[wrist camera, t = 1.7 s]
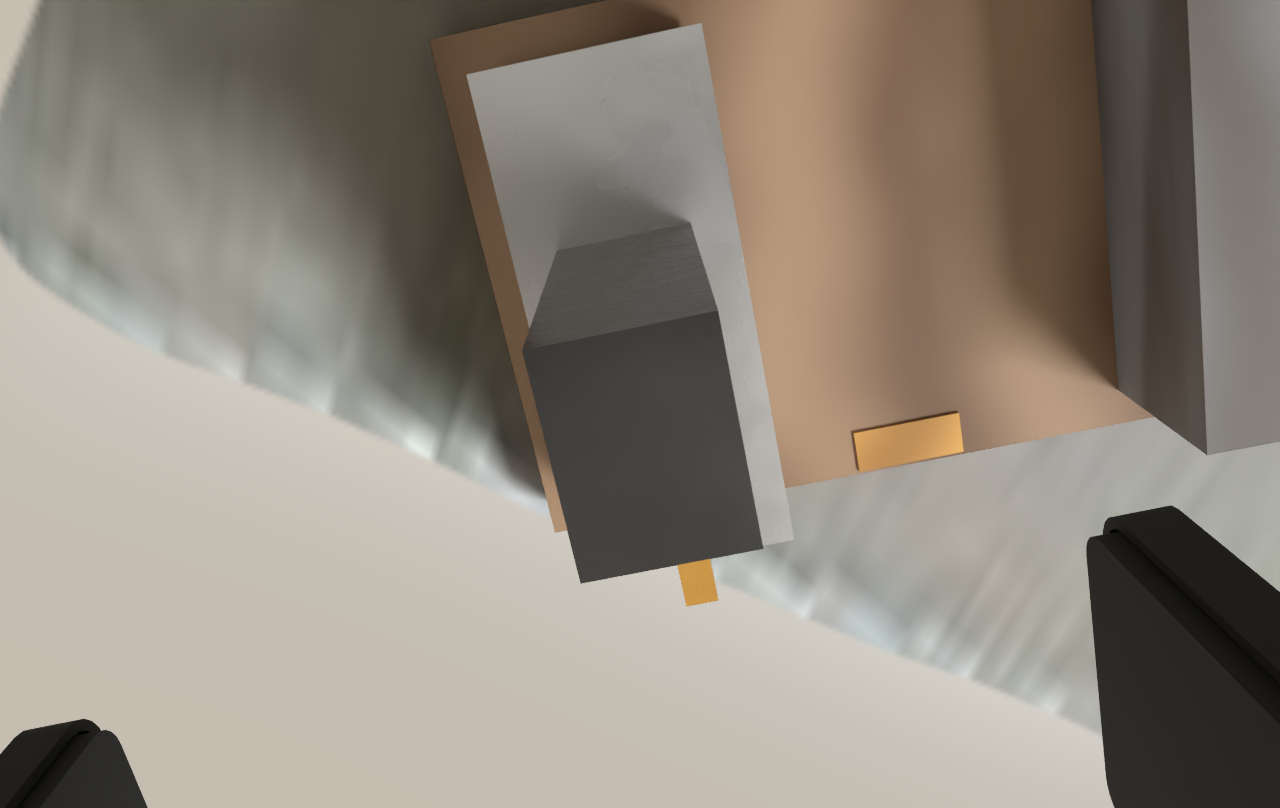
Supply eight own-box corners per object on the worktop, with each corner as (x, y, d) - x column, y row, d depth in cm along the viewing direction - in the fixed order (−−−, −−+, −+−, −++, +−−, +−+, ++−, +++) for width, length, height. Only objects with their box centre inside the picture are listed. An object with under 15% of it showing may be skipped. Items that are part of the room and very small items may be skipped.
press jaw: (689, 25, 27) (737, 16, 15) (777, 506, 31) (871, 810, 19) (494, 67, 28) (383, 93, 15) (608, 539, 32) (592, 859, 19)
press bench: (1345, -162, 28) (1566, -223, 21) (1345, 351, 32) (1528, 432, 26) (441, 39, 29) (386, 40, 23) (559, 504, 34) (541, 619, 27)
